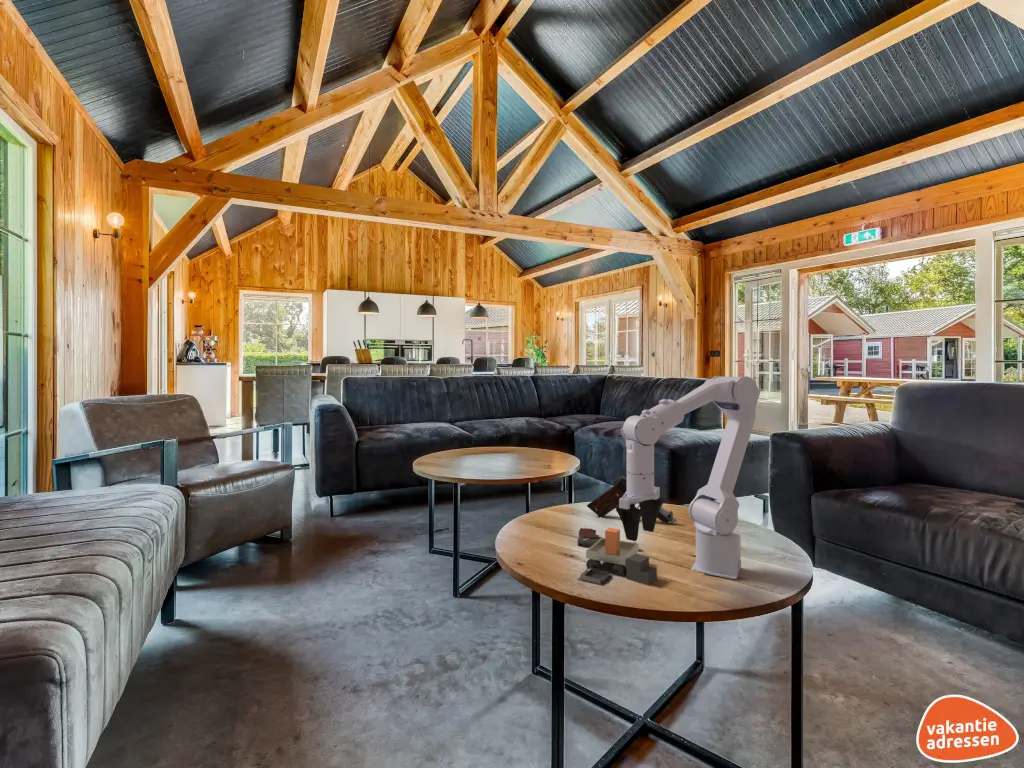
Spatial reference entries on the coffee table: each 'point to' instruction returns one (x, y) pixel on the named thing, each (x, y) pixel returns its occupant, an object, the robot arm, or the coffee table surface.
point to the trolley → (611, 556)
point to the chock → (640, 569)
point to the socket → (595, 576)
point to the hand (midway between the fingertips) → (640, 535)
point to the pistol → (588, 537)
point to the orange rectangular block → (612, 540)
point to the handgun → (611, 499)
